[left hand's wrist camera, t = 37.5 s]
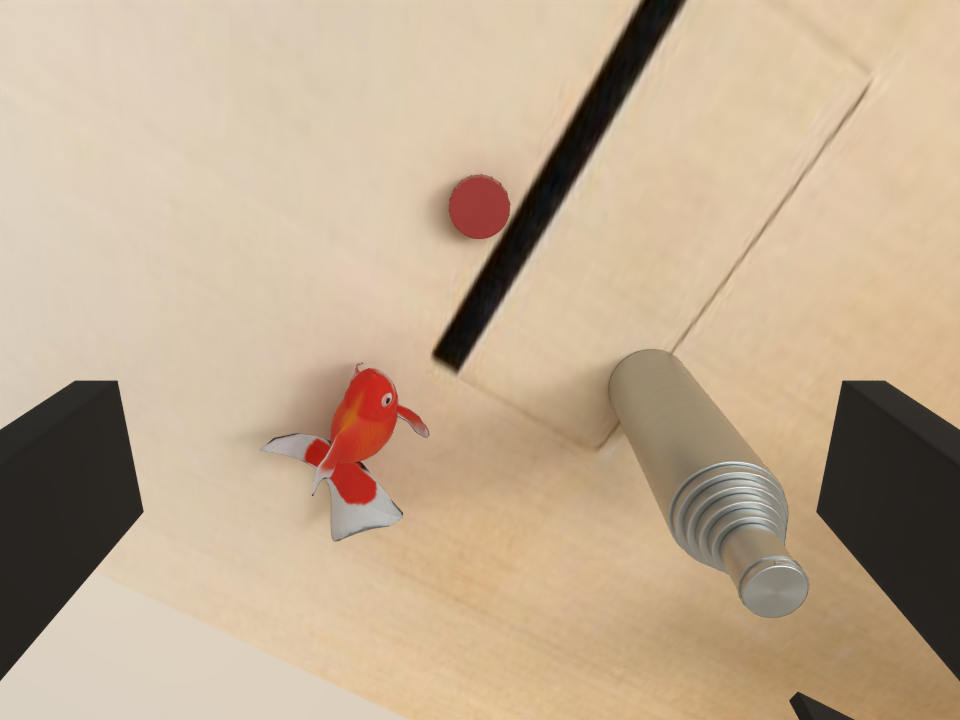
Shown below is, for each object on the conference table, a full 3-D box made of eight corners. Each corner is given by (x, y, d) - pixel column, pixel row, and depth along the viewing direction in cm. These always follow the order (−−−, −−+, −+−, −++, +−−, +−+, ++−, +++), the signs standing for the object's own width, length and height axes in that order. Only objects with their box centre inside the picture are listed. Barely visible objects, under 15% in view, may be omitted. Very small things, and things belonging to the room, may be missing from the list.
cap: (485, 161, 46) (486, 163, 44) (520, 211, 47) (522, 215, 45) (438, 197, 47) (436, 201, 44) (473, 245, 48) (473, 251, 46)
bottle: (684, 422, 52) (834, 647, 30) (606, 423, 52) (699, 649, 30) (692, 348, 50) (859, 532, 28) (610, 349, 50) (713, 533, 28)
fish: (498, 428, 47) (414, 510, 40) (401, 517, 58) (320, 595, 50) (395, 318, 48) (293, 378, 41) (317, 425, 58) (225, 489, 51)
